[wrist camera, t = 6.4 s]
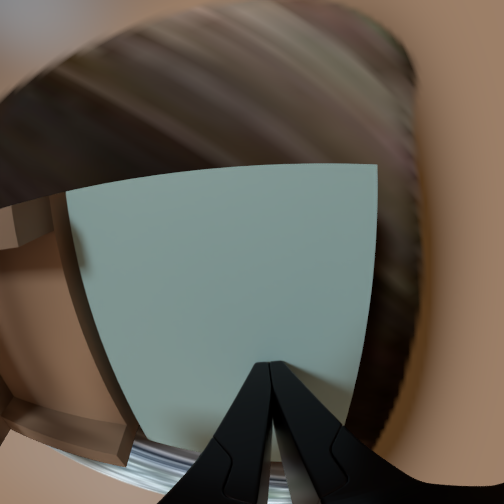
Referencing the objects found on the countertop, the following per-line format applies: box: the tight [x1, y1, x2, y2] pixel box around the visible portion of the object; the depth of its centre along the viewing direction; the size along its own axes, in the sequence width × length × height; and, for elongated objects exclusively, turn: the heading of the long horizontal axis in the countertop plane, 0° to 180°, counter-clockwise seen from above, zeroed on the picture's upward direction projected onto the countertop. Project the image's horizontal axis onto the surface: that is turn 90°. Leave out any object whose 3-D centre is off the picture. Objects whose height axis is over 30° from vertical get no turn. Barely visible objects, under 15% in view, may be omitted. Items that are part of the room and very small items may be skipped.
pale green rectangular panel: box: [66, 164, 377, 462], centre depth 9 cm, size 1×12×9 cm
